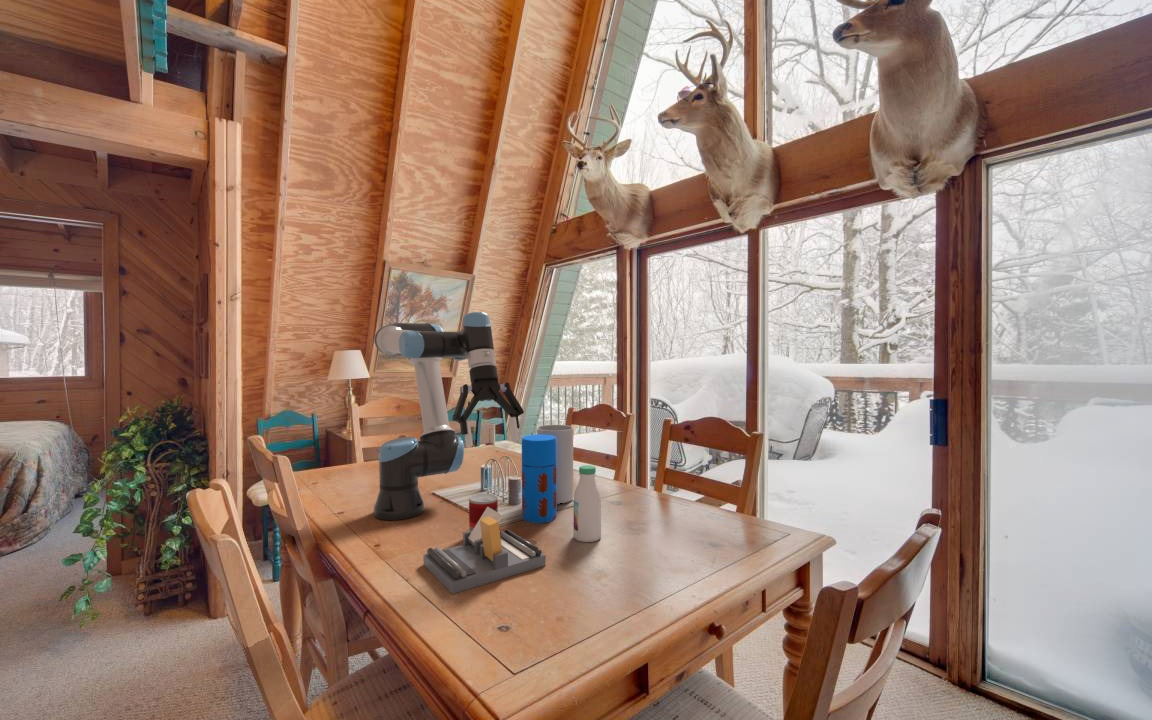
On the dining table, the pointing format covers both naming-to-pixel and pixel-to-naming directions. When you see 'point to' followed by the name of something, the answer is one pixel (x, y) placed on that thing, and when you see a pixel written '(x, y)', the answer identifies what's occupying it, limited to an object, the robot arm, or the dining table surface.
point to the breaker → (477, 529)
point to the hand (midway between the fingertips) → (493, 444)
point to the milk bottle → (587, 506)
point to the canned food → (480, 507)
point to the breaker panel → (482, 562)
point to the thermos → (539, 478)
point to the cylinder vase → (562, 459)
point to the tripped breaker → (490, 537)
